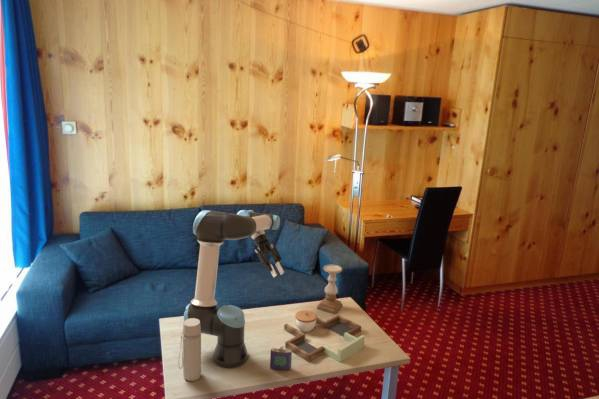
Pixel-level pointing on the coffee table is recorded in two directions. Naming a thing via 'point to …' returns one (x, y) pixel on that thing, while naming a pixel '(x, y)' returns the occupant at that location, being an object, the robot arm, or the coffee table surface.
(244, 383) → the coffee table surface
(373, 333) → the coffee table surface
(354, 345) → the track
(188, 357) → the water bottle
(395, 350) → the coffee table surface
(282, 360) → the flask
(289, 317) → the coffee table surface
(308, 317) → the lidded jar
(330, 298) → the candle holder
